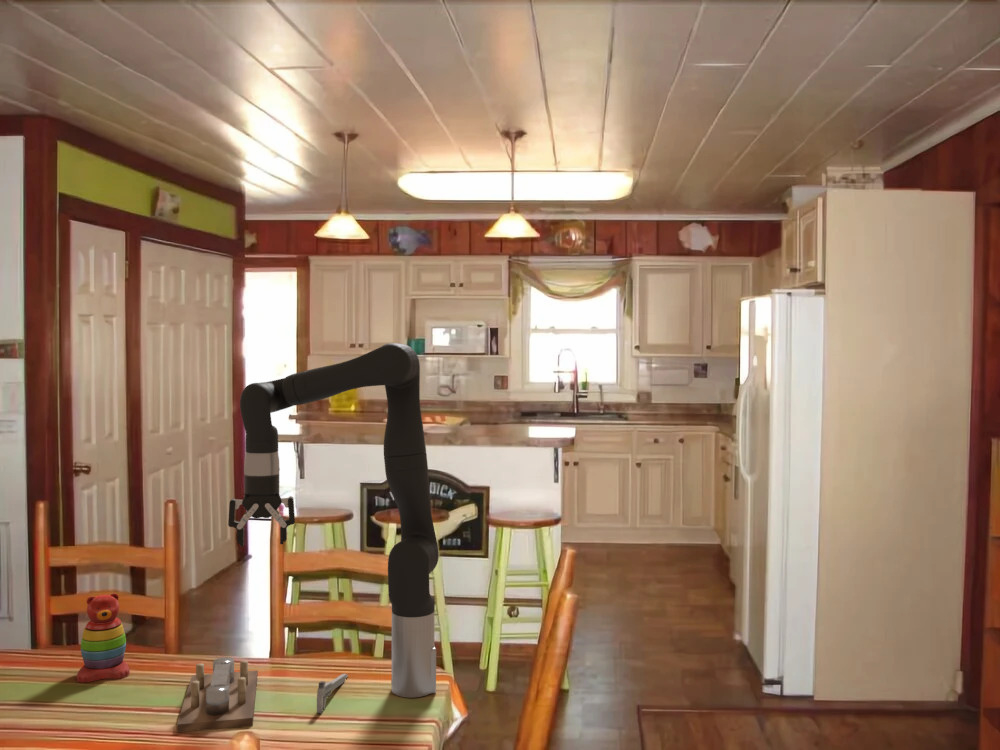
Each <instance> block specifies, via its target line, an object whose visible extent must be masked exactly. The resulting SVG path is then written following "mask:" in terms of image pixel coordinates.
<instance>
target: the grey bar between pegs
mask: <svg viewBox="0 0 1000 750" xmlns="http://www.w3.org/2000/svg"><path fill="white" fill-rule="evenodd" d="M234 672H235V659H234V658H233V657H230V656H229V657H228V656H227V657H218V658H216V659H214V660H213V661H212V674H213V677H212V682H211V686H210V687H208V688H207V689H206V714H208V715H212V716H216V715H222V714H225V713H227V712H228V711H229V688H230V683H232V682H234Z"/></svg>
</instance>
